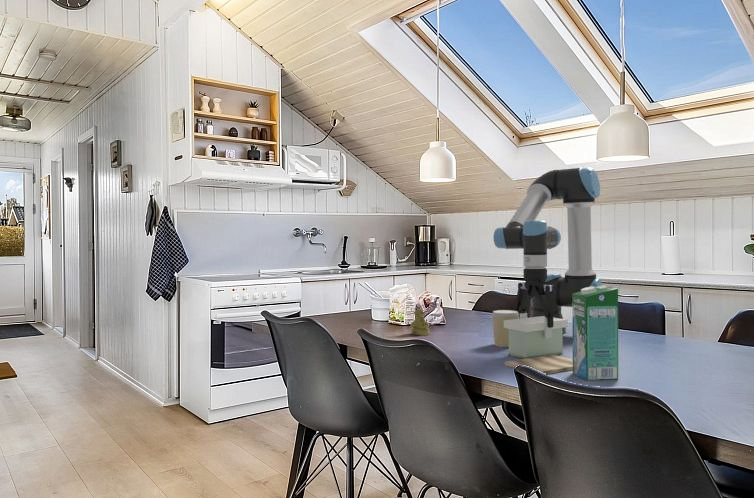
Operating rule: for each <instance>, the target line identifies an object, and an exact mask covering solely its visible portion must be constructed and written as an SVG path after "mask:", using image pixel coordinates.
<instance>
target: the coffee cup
mask: <svg viewBox="0 0 754 498" xmlns="http://www.w3.org/2000/svg"><path fill="white" fill-rule="evenodd" d="M491 315H492V326H493V340H494V342H493V343H494V345H495V346H496V347H500V348H509V329H508V328H504V320H512V319H519V313H518V311H515V310H512V309H511V310H510V309H498V310H492V314H491Z"/></svg>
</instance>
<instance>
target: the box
mask: <svg viewBox="0 0 754 498" xmlns="http://www.w3.org/2000/svg"><path fill="white" fill-rule="evenodd" d="M563 338H564V336H563V333H562V328H556V329H552V337H551V338H544V330H540V331H531V332H523V331H518V330H513V329H509V347H508V356H511V357H514V358H518V359H528V358H534V357H541V356H548V355H556V356H559V355H563V353H564V352H563V346H564V345H563V343H564V342H563Z"/></svg>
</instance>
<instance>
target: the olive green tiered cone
mask: <svg viewBox="0 0 754 498" xmlns="http://www.w3.org/2000/svg"><path fill="white" fill-rule="evenodd" d="M426 314H427V312H426V311H425V310H423V309H422V308H418V309H417V310H415V311H413V315H415V316H416V317H415V319H414V320H413V321H411V322H410V327H411V328H410V335H412V334H413V335H412V336H417V335H423V336H428V335H429V334H430V328H429V327H430V323H429V322H428V321H426V319H425V318H424V316H425V315H426Z"/></svg>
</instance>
